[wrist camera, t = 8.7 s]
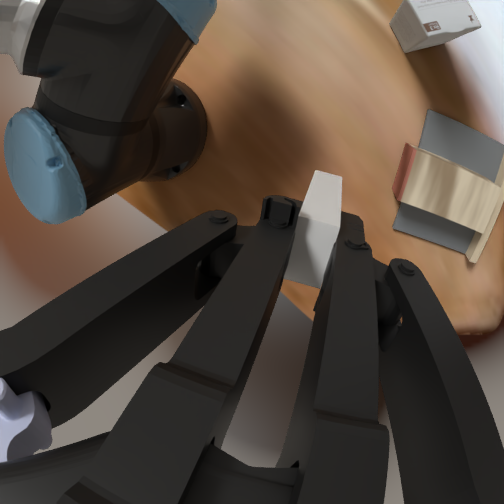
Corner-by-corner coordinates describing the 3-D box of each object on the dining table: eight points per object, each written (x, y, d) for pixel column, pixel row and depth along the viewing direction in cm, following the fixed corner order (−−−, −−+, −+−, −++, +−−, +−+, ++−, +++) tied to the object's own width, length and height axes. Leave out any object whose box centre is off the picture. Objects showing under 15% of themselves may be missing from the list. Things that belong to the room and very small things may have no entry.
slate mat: (392, 226, 36) (394, 235, 34) (427, 109, 27) (433, 110, 25) (470, 254, 34) (475, 263, 31) (510, 149, 25) (519, 153, 23)
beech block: (397, 200, 29) (483, 233, 27) (413, 148, 26) (501, 188, 24) (391, 188, 33) (471, 219, 31) (405, 142, 30) (487, 177, 28)
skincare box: (428, 13, 21) (459, -18, 11) (445, 45, 23) (485, 27, 12) (385, 24, 24) (402, -9, 14) (403, 56, 25) (429, 38, 15)
